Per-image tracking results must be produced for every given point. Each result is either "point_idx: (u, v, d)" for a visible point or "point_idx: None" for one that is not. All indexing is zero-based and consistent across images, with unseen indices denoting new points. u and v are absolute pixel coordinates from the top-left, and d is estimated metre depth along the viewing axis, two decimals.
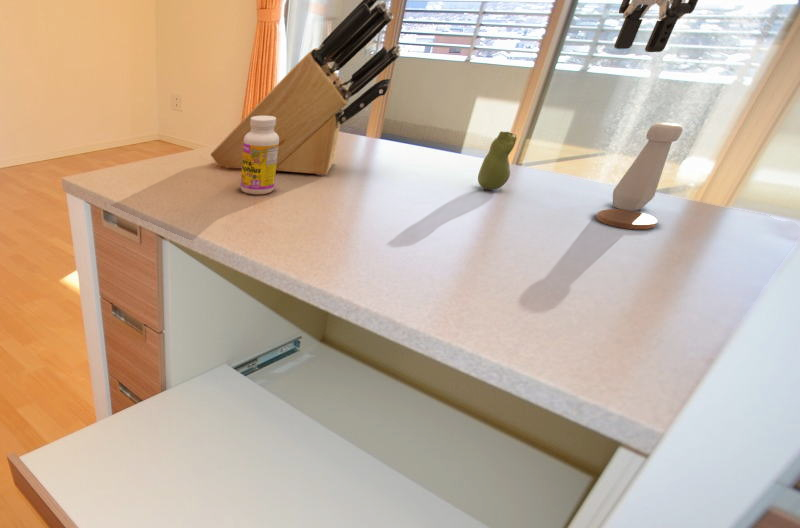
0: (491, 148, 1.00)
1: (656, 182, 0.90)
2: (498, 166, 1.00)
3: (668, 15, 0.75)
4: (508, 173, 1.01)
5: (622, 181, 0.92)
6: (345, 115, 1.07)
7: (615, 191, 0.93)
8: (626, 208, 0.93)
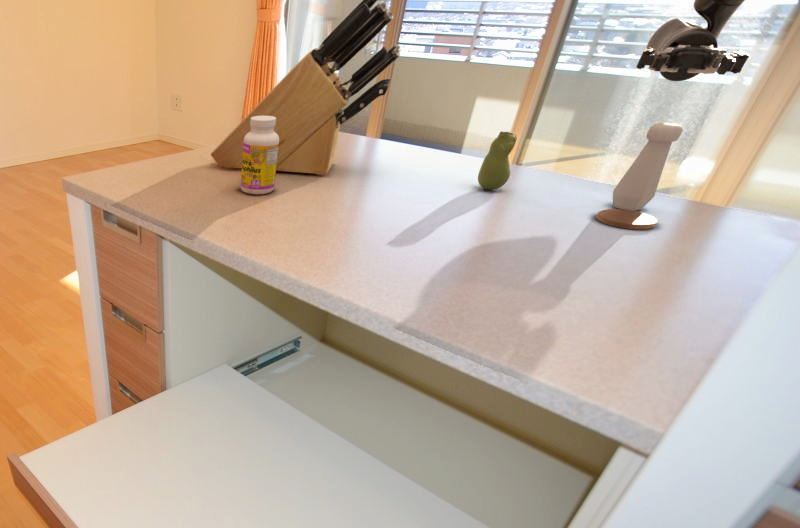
0: (491, 148, 1.00)
1: (656, 182, 0.90)
2: (498, 166, 1.00)
3: (649, 65, 0.94)
4: (508, 173, 1.01)
5: (622, 181, 0.92)
6: (345, 115, 1.07)
7: (615, 191, 0.93)
8: (626, 208, 0.93)
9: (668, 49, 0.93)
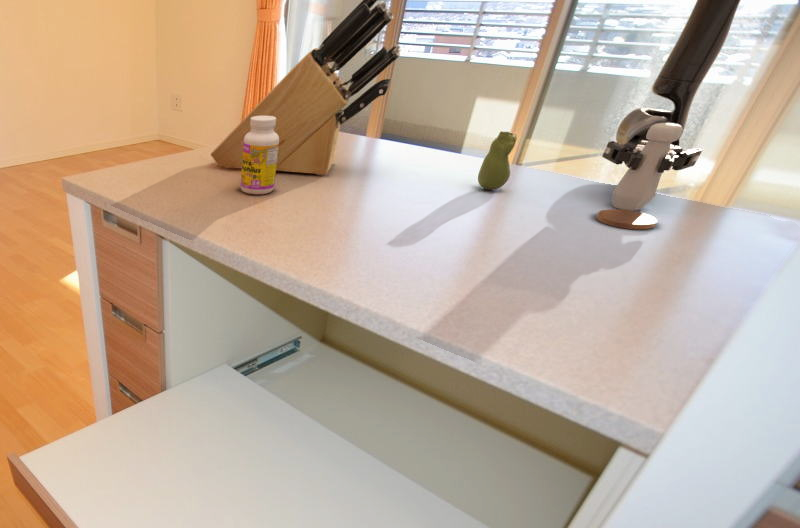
0: (491, 148, 1.00)
1: (656, 182, 0.90)
2: (498, 166, 1.00)
3: (626, 162, 0.92)
4: (508, 173, 1.01)
5: (622, 181, 0.92)
6: (345, 115, 1.07)
7: (615, 191, 0.93)
8: (626, 208, 0.93)
9: (640, 146, 0.92)
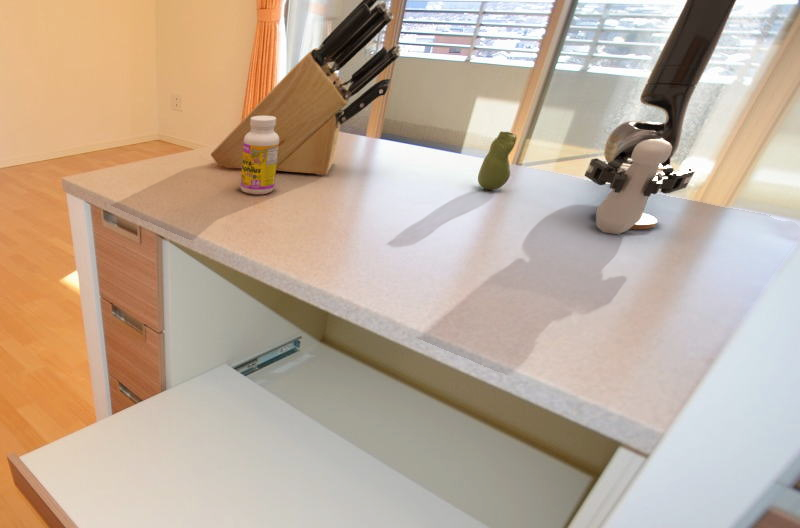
0: (491, 148, 1.00)
1: (642, 205, 0.81)
2: (498, 166, 1.00)
3: (610, 182, 0.83)
4: (508, 173, 1.01)
5: (605, 203, 0.83)
6: (345, 115, 1.07)
7: (598, 213, 0.84)
8: (610, 231, 0.84)
9: (625, 165, 0.82)
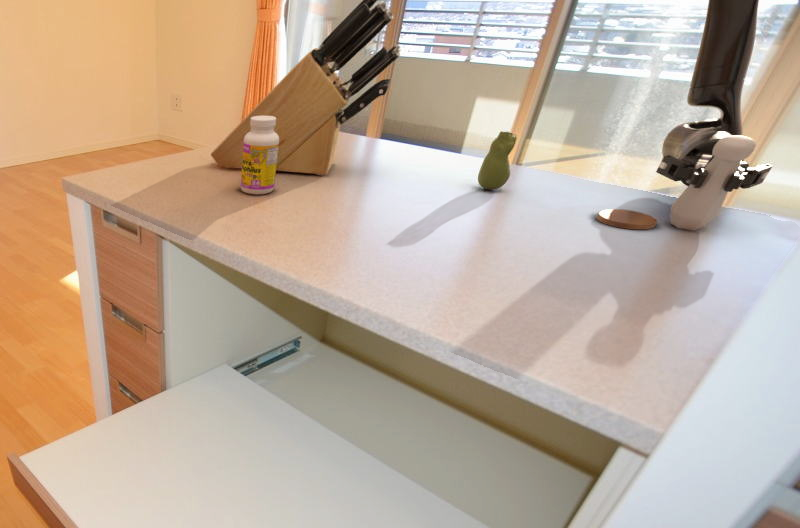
0: (491, 148, 1.00)
1: (721, 201, 0.81)
2: (498, 166, 1.00)
3: (686, 178, 0.83)
4: (508, 173, 1.01)
5: (682, 199, 0.84)
6: (345, 115, 1.07)
7: (673, 209, 0.85)
8: (685, 227, 0.85)
9: (702, 161, 0.83)
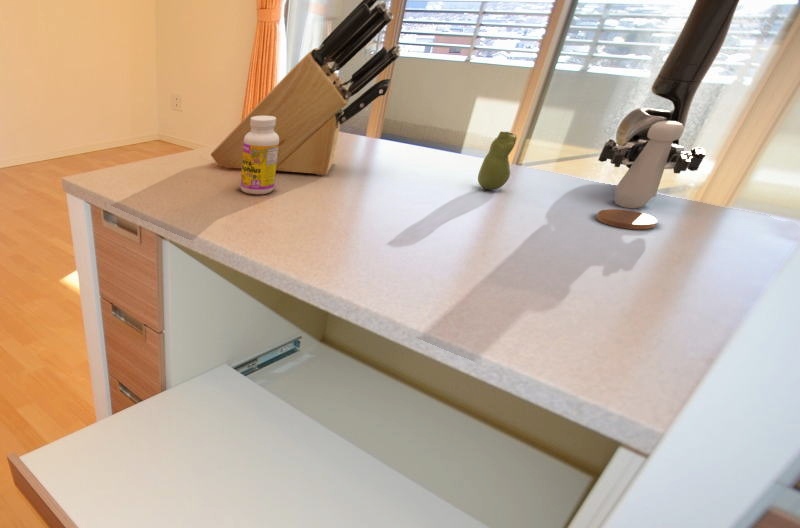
0: (491, 148, 1.00)
1: (658, 180, 0.90)
2: (498, 166, 1.00)
3: None
4: (508, 173, 1.01)
5: (624, 179, 0.93)
6: (345, 115, 1.07)
7: (617, 189, 0.94)
8: (628, 206, 0.94)
9: (629, 144, 0.93)
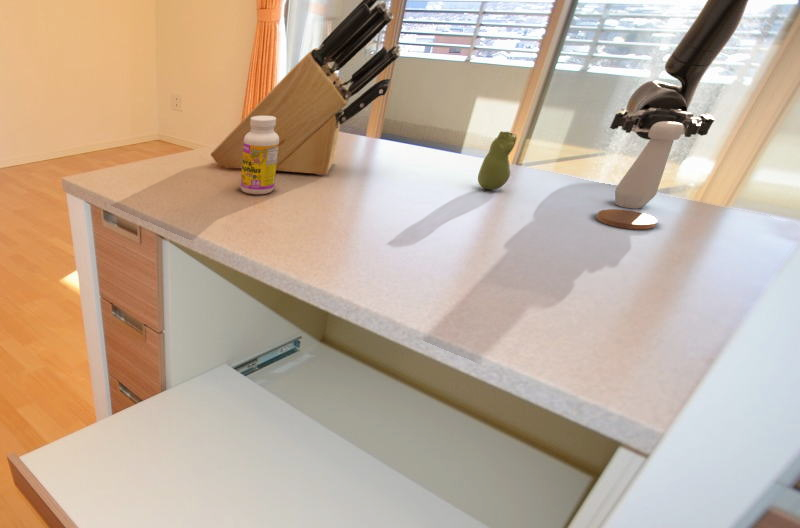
0: (491, 148, 1.00)
1: (658, 180, 0.91)
2: (498, 166, 1.00)
3: None
4: (508, 173, 1.01)
5: (624, 179, 0.93)
6: (345, 115, 1.07)
7: (617, 189, 0.94)
8: (628, 206, 0.94)
9: (639, 112, 0.99)
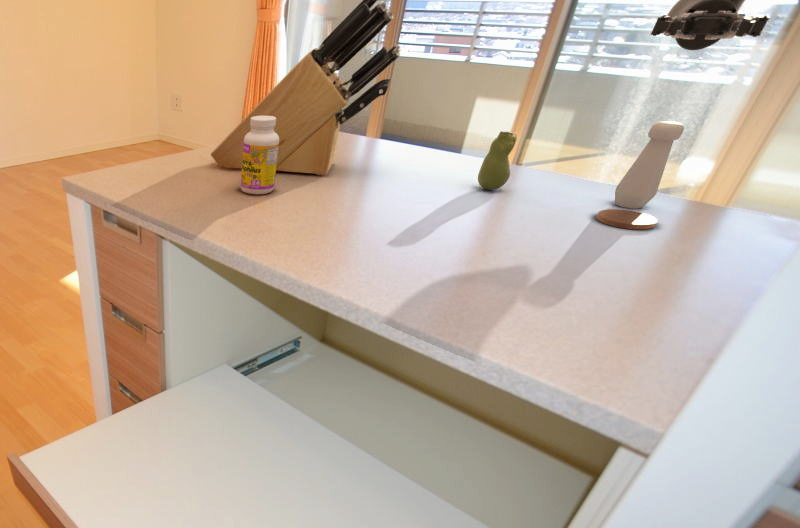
0: (491, 148, 1.00)
1: (658, 180, 0.91)
2: (498, 166, 1.00)
3: (664, 31, 0.92)
4: (508, 173, 1.01)
5: (624, 179, 0.93)
6: (345, 115, 1.07)
7: (617, 189, 0.94)
8: (628, 206, 0.94)
9: (684, 14, 0.90)
